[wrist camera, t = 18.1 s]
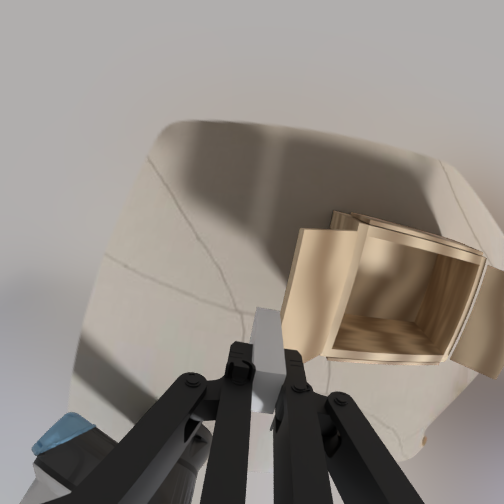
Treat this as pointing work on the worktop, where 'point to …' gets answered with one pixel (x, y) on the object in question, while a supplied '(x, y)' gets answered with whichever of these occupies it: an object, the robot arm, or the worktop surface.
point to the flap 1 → (315, 288)
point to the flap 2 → (485, 329)
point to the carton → (401, 294)
